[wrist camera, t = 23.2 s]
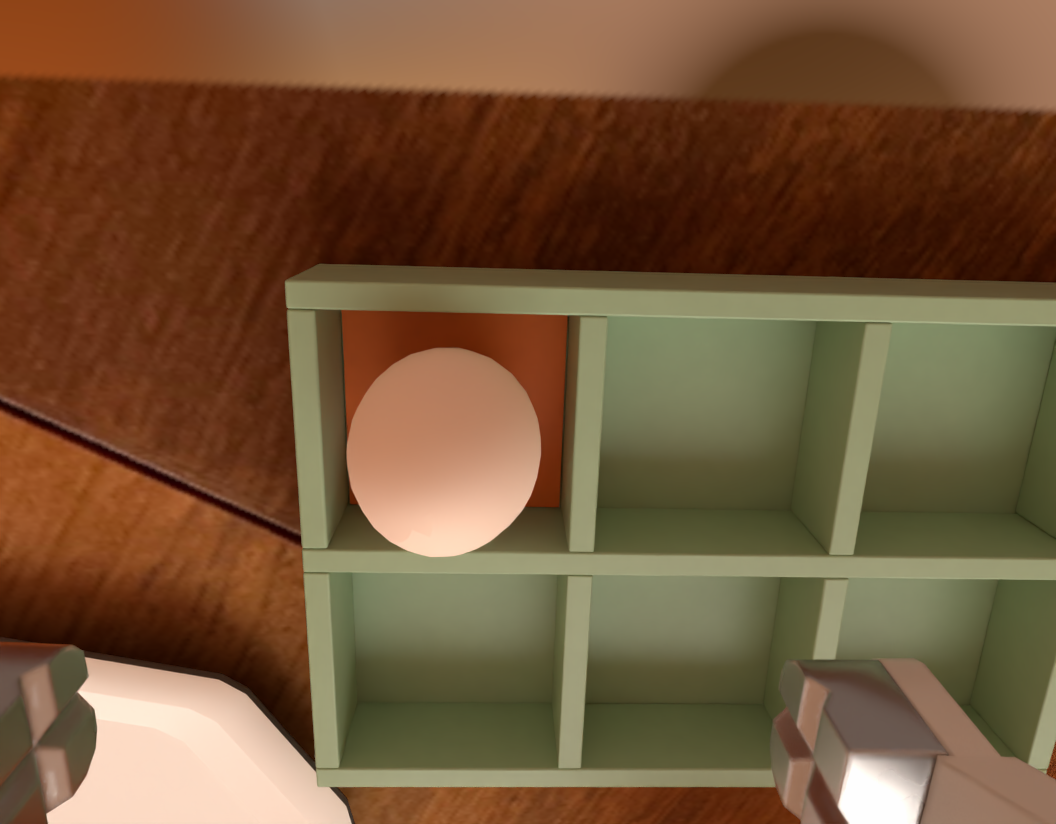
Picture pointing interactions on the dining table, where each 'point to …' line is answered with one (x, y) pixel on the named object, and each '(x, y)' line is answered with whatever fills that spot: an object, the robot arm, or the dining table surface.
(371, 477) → the egg
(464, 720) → the carton
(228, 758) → the plate
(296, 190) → the dining table surface
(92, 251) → the dining table surface
